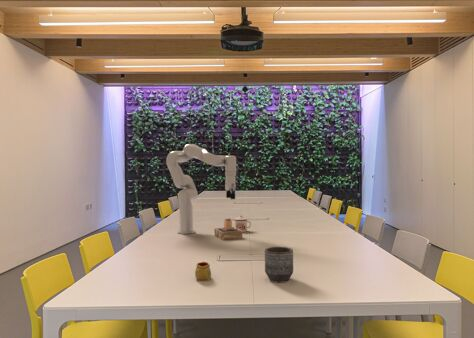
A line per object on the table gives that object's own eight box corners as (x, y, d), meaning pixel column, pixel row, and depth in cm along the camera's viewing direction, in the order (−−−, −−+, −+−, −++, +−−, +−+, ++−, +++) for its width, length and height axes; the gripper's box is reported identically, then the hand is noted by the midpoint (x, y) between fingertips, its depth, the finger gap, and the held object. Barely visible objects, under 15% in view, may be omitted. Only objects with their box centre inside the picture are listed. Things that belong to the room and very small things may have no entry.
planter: (276, 273, 178) (276, 245, 177) (299, 278, 169) (298, 249, 169) (259, 279, 169) (258, 250, 169) (281, 285, 160) (281, 254, 160)
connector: (224, 235, 267) (224, 218, 267) (229, 234, 268) (229, 218, 268) (226, 236, 263) (226, 219, 263) (231, 235, 265) (231, 219, 264)
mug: (209, 281, 168) (209, 265, 168) (193, 281, 168) (193, 265, 168) (213, 273, 180) (213, 258, 180) (198, 273, 180) (198, 258, 180)
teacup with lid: (234, 232, 283) (234, 216, 282) (235, 230, 292) (235, 214, 291) (251, 232, 281) (250, 216, 281) (251, 230, 291) (251, 214, 290)
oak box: (214, 235, 271) (214, 227, 271) (233, 234, 276) (233, 226, 276) (222, 240, 255) (222, 231, 255) (242, 238, 260) (242, 230, 260)
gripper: (222, 173, 278) (222, 197, 278) (229, 174, 261) (229, 199, 262) (232, 173, 280) (232, 197, 281) (239, 174, 264) (239, 199, 264)
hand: (230, 198), depth 271 cm, fingers open, 9 cm apart
